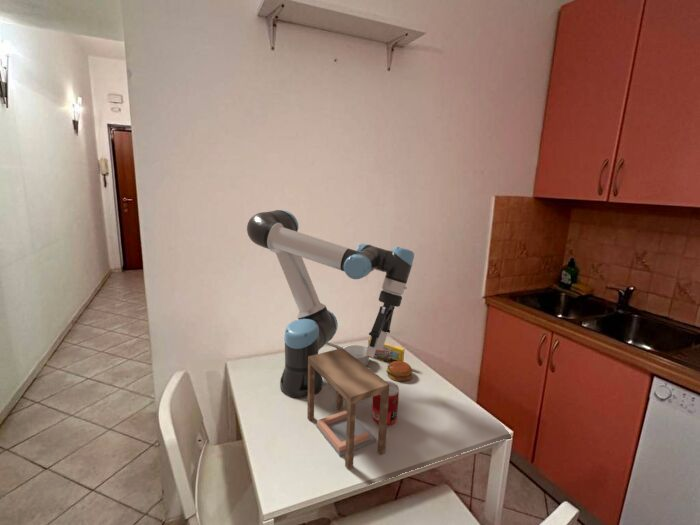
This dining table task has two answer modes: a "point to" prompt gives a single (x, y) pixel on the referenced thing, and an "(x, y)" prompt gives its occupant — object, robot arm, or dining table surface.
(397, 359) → the candy box
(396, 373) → the burger
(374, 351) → the robot arm
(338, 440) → the seat
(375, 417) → the canned food
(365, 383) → the bench
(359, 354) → the saucepan
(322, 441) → the dining table surface
